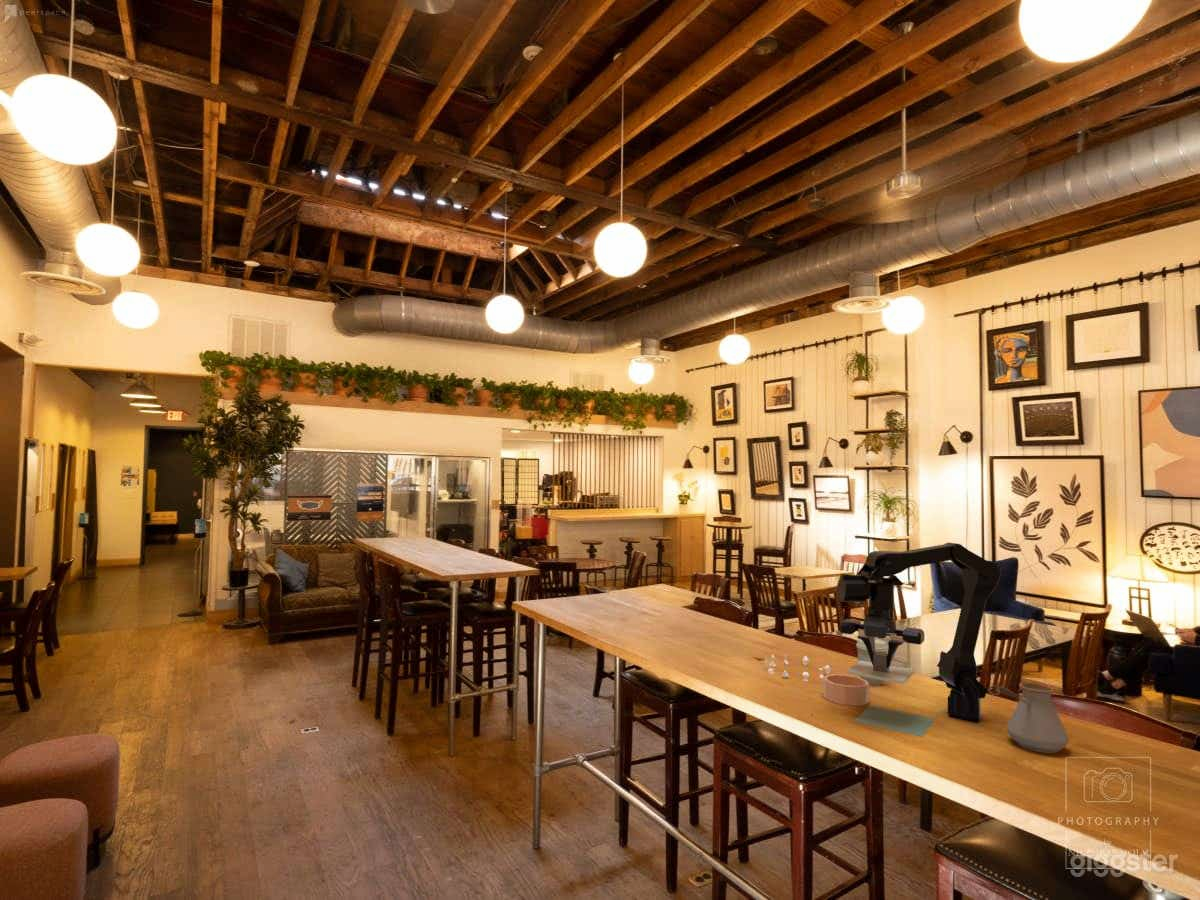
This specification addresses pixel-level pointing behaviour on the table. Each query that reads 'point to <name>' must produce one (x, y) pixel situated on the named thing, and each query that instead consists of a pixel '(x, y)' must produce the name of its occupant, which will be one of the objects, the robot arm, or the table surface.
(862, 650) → the coffee cup
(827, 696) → the pink round tub
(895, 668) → the lid
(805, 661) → the game piece set
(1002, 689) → the coffee pot
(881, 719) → the mat
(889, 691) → the table surface
